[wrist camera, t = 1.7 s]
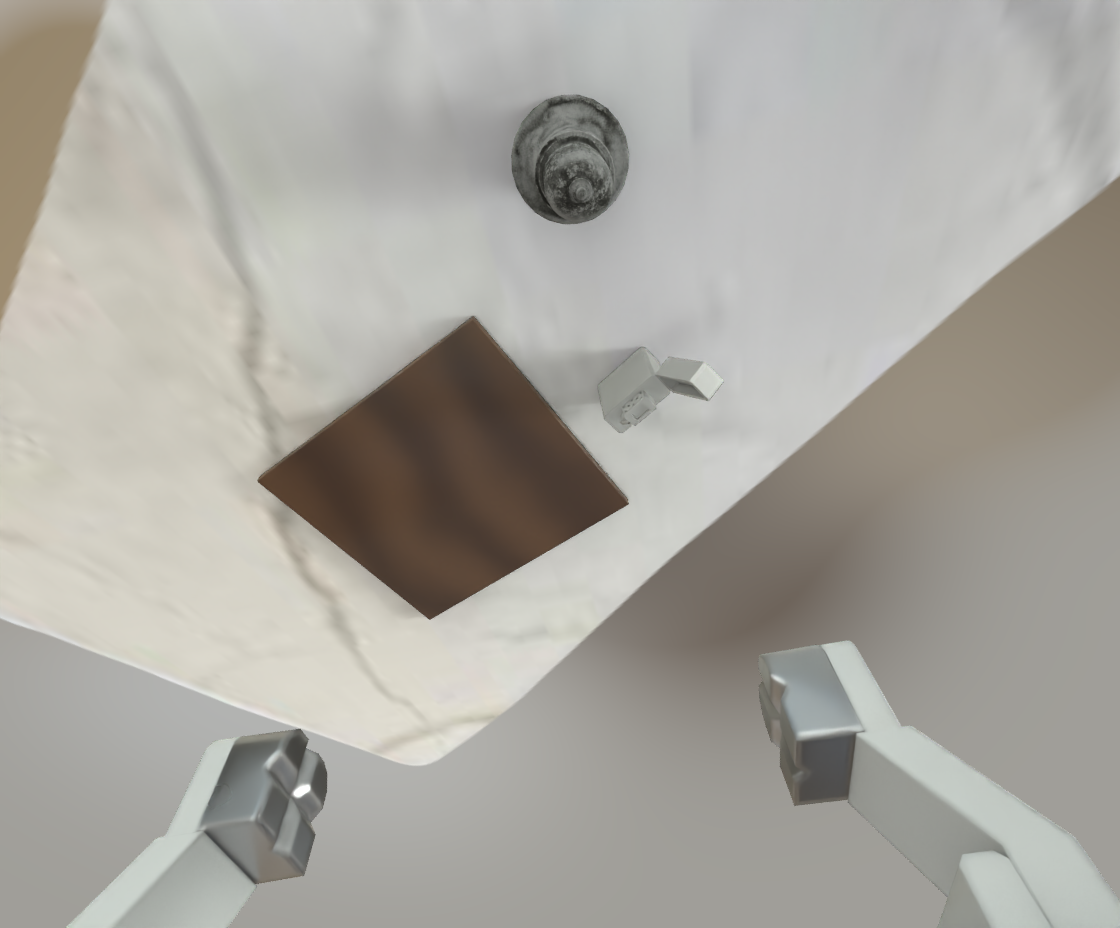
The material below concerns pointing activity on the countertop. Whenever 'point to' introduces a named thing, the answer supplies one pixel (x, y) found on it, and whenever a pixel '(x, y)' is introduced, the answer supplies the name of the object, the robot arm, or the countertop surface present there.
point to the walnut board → (447, 475)
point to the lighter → (652, 386)
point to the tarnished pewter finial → (570, 159)
